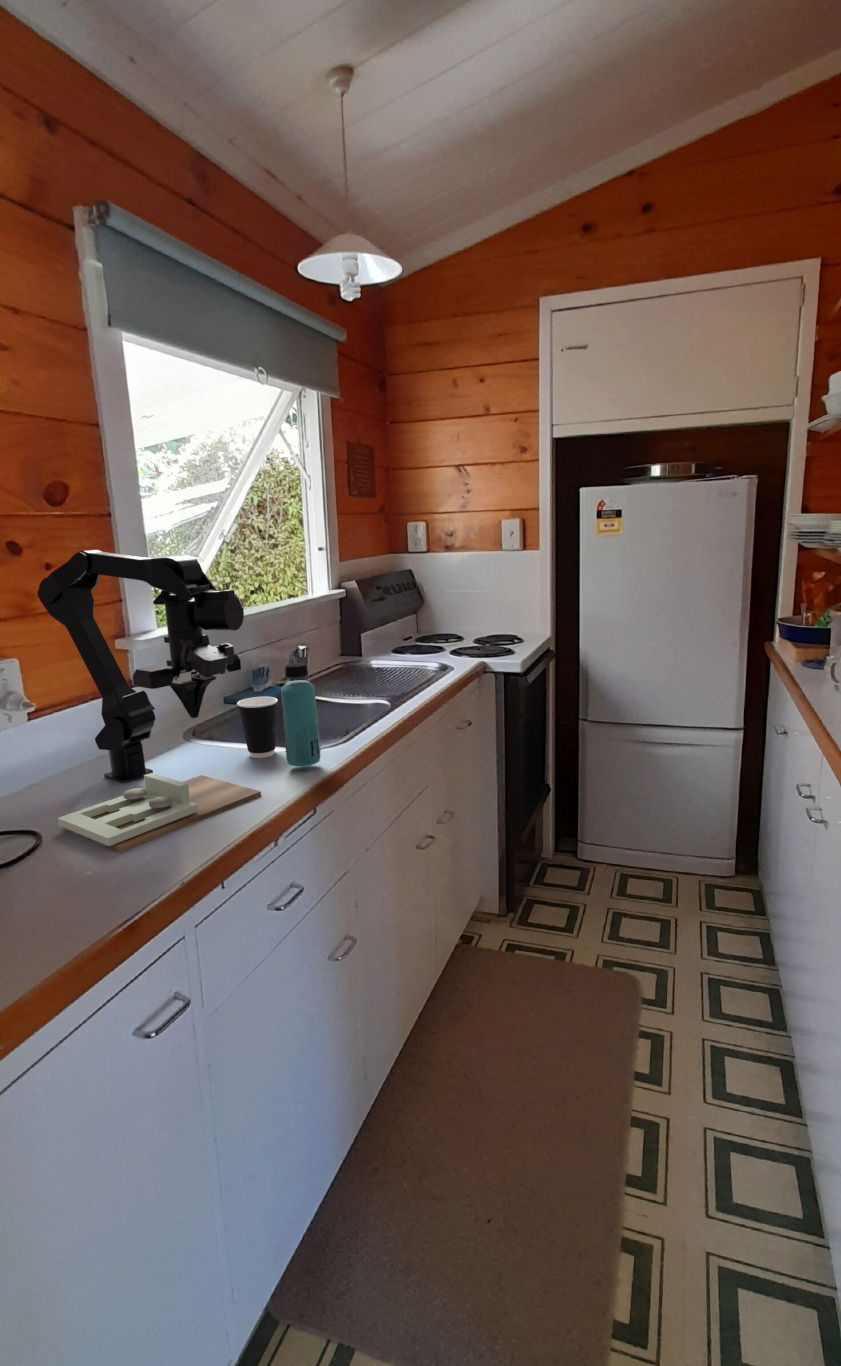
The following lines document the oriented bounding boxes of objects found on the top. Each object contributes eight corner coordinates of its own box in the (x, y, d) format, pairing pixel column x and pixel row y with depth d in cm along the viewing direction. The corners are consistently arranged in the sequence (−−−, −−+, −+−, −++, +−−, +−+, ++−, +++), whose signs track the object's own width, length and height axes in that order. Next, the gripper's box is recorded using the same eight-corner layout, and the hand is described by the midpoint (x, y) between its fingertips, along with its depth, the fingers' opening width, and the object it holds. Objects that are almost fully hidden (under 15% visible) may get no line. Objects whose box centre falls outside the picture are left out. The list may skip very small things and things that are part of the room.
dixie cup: (289, 753, 148) (285, 700, 146) (255, 763, 143) (250, 708, 140) (268, 745, 154) (263, 694, 151) (234, 755, 148) (229, 702, 146)
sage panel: (58, 825, 113) (54, 799, 112) (147, 794, 124) (144, 770, 124) (109, 846, 104) (105, 818, 103) (198, 811, 116) (195, 786, 115)
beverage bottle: (315, 775, 134) (307, 667, 130) (280, 773, 136) (272, 667, 131) (326, 763, 141) (319, 660, 136) (293, 762, 142) (285, 660, 138)
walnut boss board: (62, 828, 114) (59, 806, 113) (202, 779, 134) (200, 760, 134) (120, 852, 105) (117, 828, 104) (261, 795, 125) (259, 775, 124)
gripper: (165, 640, 115) (176, 737, 118) (257, 625, 130) (265, 711, 133) (125, 636, 122) (137, 727, 125) (217, 622, 136) (225, 704, 140)
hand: (194, 717), depth 130 cm, fingers closed
